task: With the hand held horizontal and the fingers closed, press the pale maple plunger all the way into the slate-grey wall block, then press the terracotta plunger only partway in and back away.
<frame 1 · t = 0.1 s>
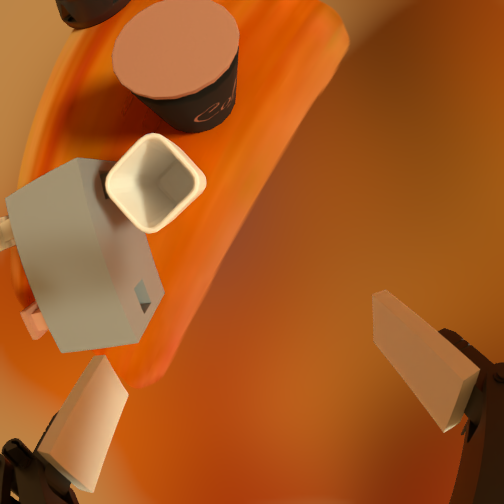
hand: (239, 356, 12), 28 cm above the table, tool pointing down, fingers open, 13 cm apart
wall block: (109, 240, 38), on the table
coffee jar: (197, 99, 34), on the table
pale plunger: (26, 221, 28), point 8 cm above the table, slide at 0.0 cm
terracotta plunger: (58, 314, 32), point 8 cm above the table, slide at 0.0 cm
cup: (180, 181, 37), on the table
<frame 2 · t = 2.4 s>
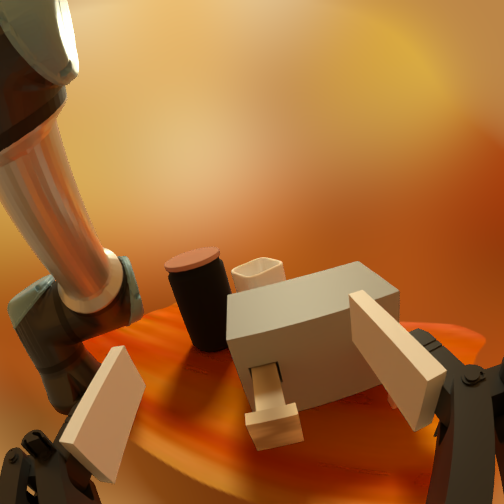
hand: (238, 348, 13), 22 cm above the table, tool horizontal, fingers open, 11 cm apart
wall block: (318, 375, 38), on the table
coffee jar: (218, 339, 55), on the table
pale plunger: (268, 391, 27), point 8 cm above the table, slide at 0.0 cm
terracotta plunger: (388, 353, 27), point 8 cm above the table, slide at 0.0 cm
cup: (274, 340, 50), on the table
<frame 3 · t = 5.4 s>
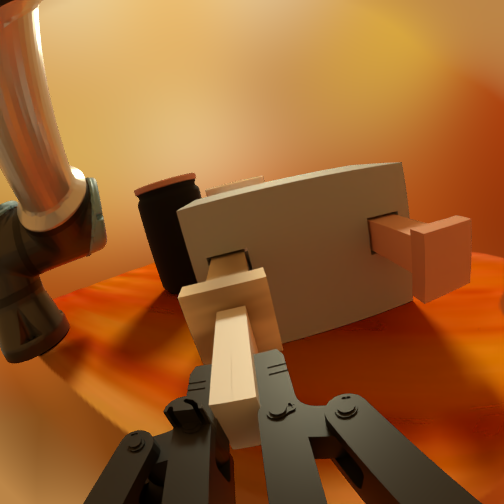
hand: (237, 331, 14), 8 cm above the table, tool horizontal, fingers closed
wall block: (310, 304, 31), on the table
coffee jar: (193, 283, 48), on the table
pale plunger: (232, 284, 20), point 8 cm above the table, slide at 0.2 cm, touching gripper
terracotta plunger: (401, 239, 20), point 8 cm above the table, slide at 0.0 cm
cup: (257, 278, 43), on the table
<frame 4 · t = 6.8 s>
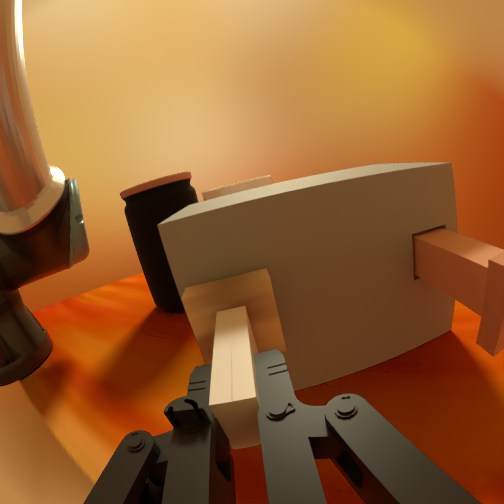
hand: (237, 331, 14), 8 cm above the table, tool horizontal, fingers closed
wall block: (329, 334, 24), on the table
coffee jar: (189, 298, 42), on the table
pale plunger: (234, 284, 20), point 8 cm above the table, slide at 6.8 cm, touching gripper
terracotta plunger: (455, 263, 14), point 8 cm above the table, slide at 0.0 cm
cup: (263, 295, 37), on the table
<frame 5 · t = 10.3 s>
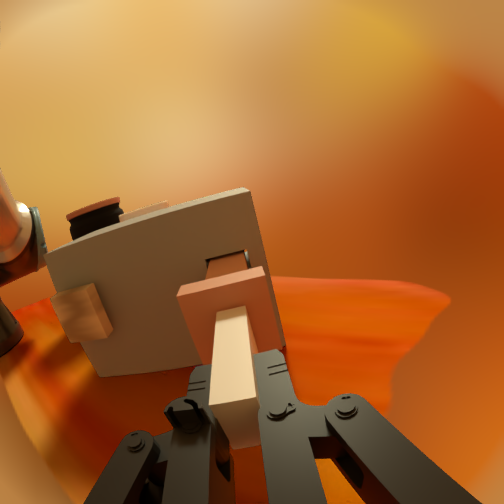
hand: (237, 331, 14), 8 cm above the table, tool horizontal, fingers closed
wall block: (189, 335, 30), on the table
coffee jar: (123, 300, 47), on the table
pale plunger: (103, 291, 26), point 8 cm above the table, slide at 6.8 cm
terracotta plunger: (231, 283, 20), point 8 cm above the table, slide at 0.8 cm, touching gripper
cup: (171, 299, 43), on the table
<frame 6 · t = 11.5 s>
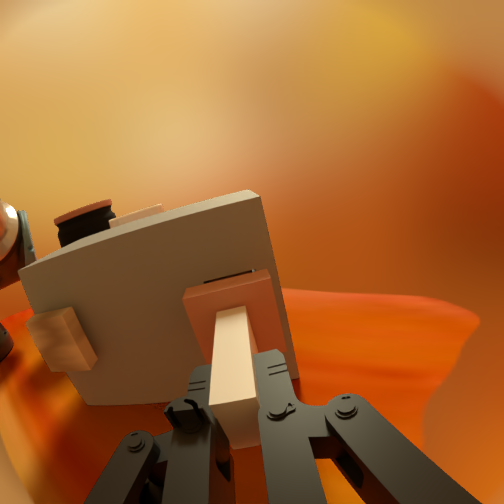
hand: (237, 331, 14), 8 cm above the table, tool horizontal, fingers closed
wall block: (187, 359, 26), on the table
coffee jar: (117, 311, 43), on the table
pale plunger: (88, 311, 22), point 8 cm above the table, slide at 6.8 cm
terracotta plunger: (235, 284, 20), point 8 cm above the table, slide at 5.3 cm, touching gripper
cup: (167, 313, 38), on the table
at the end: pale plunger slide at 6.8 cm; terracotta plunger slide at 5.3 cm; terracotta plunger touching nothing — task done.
